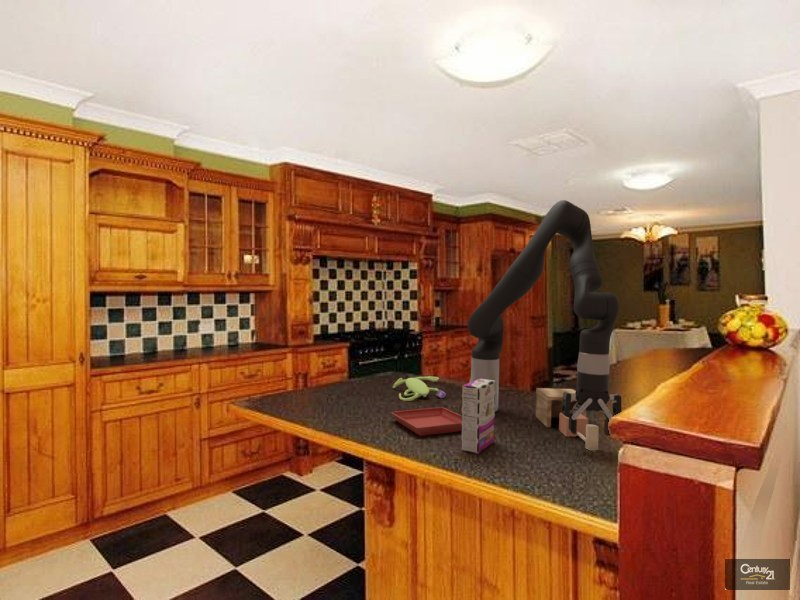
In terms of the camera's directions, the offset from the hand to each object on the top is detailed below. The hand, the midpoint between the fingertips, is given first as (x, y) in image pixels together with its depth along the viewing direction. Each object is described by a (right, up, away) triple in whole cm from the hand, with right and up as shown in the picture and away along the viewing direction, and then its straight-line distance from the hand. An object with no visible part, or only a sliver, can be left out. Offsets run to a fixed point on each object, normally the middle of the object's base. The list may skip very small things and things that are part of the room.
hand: (590, 434), depth 120 cm
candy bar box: (-29, -4, 0) cm, 29 cm away
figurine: (-41, -2, +61) cm, 74 cm away
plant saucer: (-39, -3, +17) cm, 43 cm away
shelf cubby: (+1, -3, +25) cm, 25 cm away
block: (0, -4, +8) cm, 8 cm away
